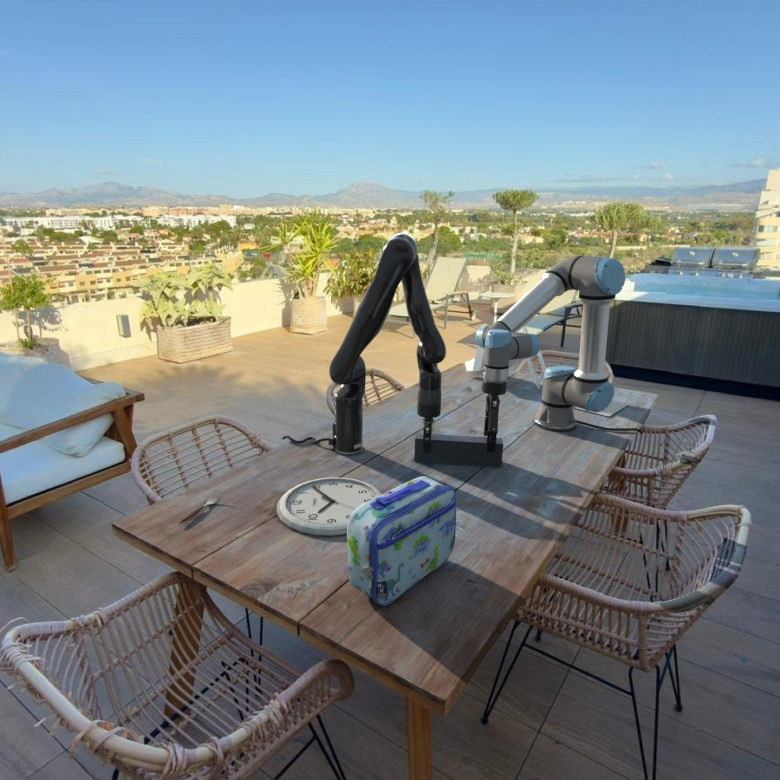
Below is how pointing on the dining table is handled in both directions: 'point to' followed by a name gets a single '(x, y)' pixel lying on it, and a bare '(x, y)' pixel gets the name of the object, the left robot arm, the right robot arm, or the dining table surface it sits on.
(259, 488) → the dining table surface
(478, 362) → the white plastic object
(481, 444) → the beam
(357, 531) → the lunch box
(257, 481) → the dining table surface
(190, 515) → the fork
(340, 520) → the wall clock
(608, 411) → the invitation card
